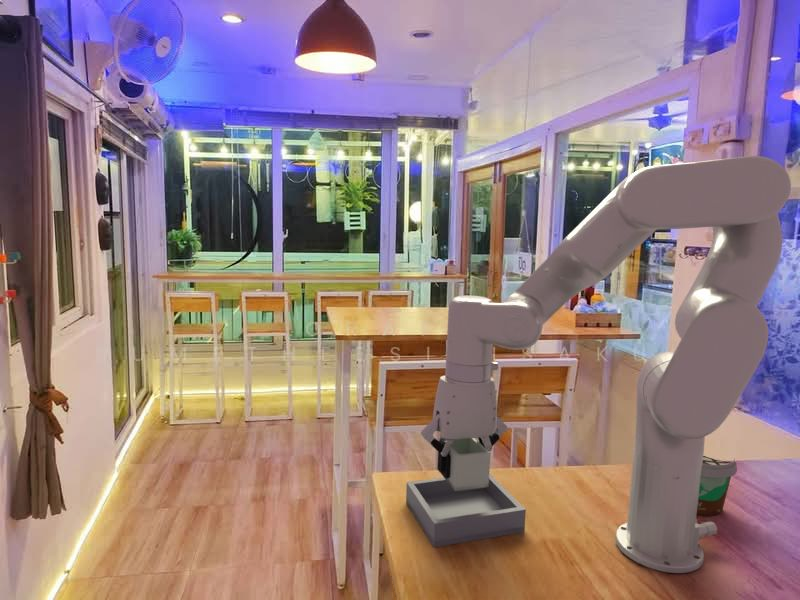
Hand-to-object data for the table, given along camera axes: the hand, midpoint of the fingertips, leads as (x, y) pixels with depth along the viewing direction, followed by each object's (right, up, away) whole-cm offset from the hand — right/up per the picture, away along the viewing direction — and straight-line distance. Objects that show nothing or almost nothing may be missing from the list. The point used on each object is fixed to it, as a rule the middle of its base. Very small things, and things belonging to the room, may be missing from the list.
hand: (462, 471), depth 95 cm
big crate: (0, -8, +1) cm, 8 cm away
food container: (+42, -9, +5) cm, 43 cm away
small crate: (0, -1, 0) cm, 1 cm away
